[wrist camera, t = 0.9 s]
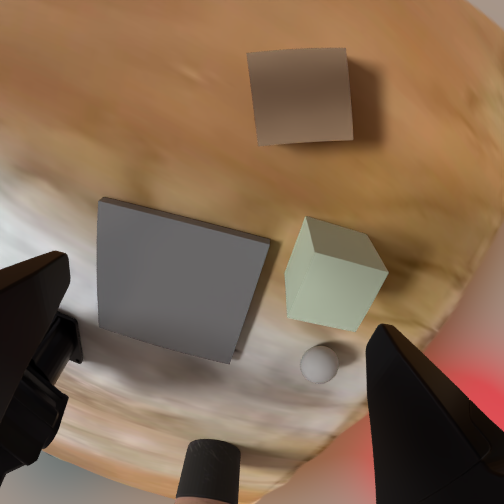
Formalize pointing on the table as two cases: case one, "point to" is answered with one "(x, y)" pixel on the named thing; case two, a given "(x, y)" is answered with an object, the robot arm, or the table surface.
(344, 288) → the sage block
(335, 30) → the table surface
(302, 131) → the walnut block
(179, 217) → the plate
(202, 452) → the travel mug
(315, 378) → the grey ball
